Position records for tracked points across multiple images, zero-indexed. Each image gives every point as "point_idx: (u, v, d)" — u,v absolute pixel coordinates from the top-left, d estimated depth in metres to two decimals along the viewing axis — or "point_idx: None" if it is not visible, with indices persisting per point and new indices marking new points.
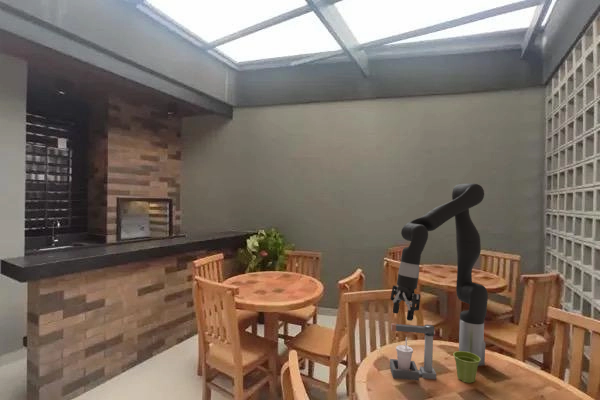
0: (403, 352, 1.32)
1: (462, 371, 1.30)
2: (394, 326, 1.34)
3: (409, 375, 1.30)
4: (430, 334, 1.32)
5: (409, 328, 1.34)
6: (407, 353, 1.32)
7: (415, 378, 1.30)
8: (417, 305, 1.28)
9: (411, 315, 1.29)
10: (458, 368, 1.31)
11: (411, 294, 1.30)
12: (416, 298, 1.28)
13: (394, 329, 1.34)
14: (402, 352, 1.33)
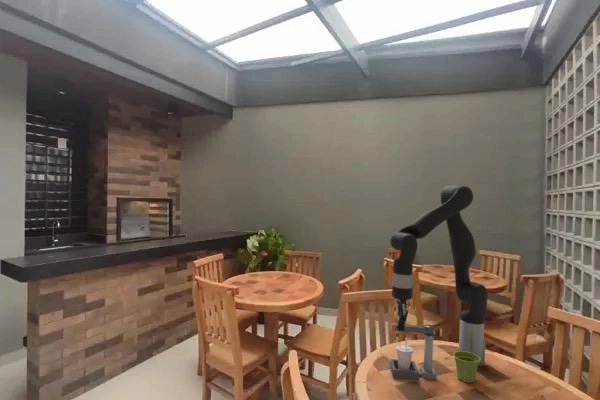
0: (403, 352, 1.32)
1: (462, 371, 1.30)
2: (394, 326, 1.35)
3: (409, 375, 1.30)
4: (430, 334, 1.32)
5: (409, 328, 1.34)
6: (407, 353, 1.32)
7: (415, 378, 1.30)
8: (405, 317, 1.30)
9: (401, 326, 1.32)
10: (458, 368, 1.31)
11: (401, 310, 1.29)
12: (402, 314, 1.28)
13: (394, 329, 1.35)
14: (402, 352, 1.33)
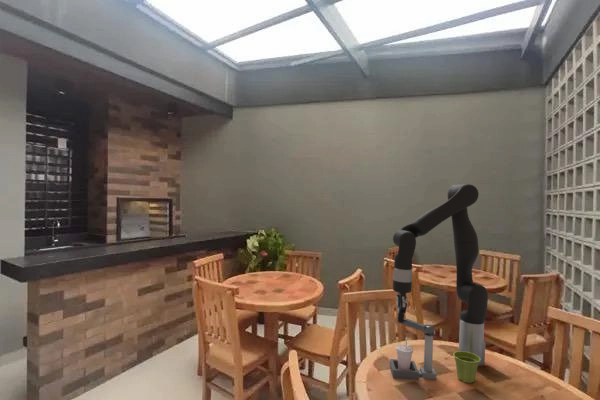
0: (403, 352, 1.32)
1: (462, 371, 1.30)
2: None
3: (409, 375, 1.30)
4: (426, 333, 1.33)
5: (410, 323, 1.39)
6: (407, 353, 1.32)
7: (415, 378, 1.30)
8: (404, 310, 1.38)
9: (400, 317, 1.40)
10: (458, 368, 1.31)
11: (401, 303, 1.38)
12: (402, 306, 1.36)
13: None
14: (402, 352, 1.33)
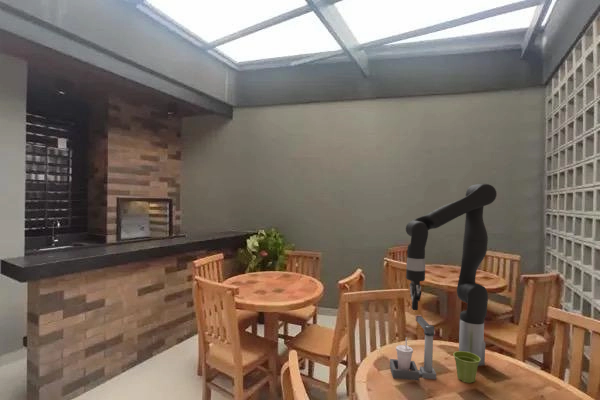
0: (403, 352, 1.32)
1: (462, 371, 1.30)
2: (415, 316, 1.47)
3: (409, 375, 1.30)
4: (424, 332, 1.34)
5: (420, 322, 1.42)
6: (407, 353, 1.32)
7: (415, 378, 1.30)
8: (418, 297, 1.43)
9: (414, 305, 1.45)
10: (458, 368, 1.31)
11: (415, 291, 1.42)
12: (416, 294, 1.41)
13: (415, 319, 1.47)
14: (402, 352, 1.33)
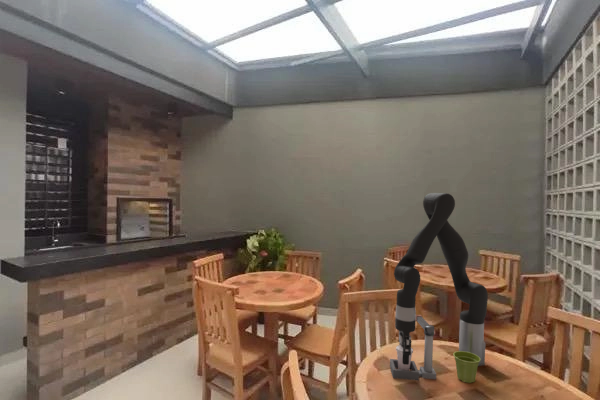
0: None
1: (462, 371, 1.30)
2: None
3: (409, 375, 1.30)
4: (424, 332, 1.34)
5: (420, 322, 1.42)
6: None
7: (415, 378, 1.30)
8: (409, 350, 1.29)
9: (405, 359, 1.31)
10: (458, 368, 1.31)
11: (404, 339, 1.31)
12: (406, 344, 1.29)
13: None
14: None
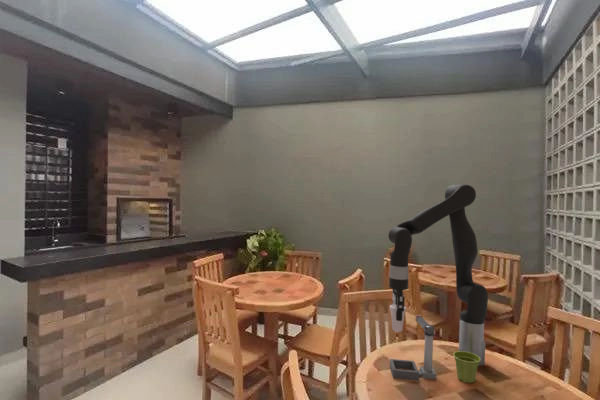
0: None
1: (462, 371, 1.30)
2: (415, 316, 1.47)
3: (409, 375, 1.30)
4: (424, 332, 1.34)
5: (420, 322, 1.42)
6: None
7: (415, 378, 1.30)
8: (402, 306, 1.35)
9: (398, 316, 1.37)
10: (458, 368, 1.31)
11: (398, 296, 1.37)
12: (399, 300, 1.35)
13: (415, 319, 1.47)
14: None
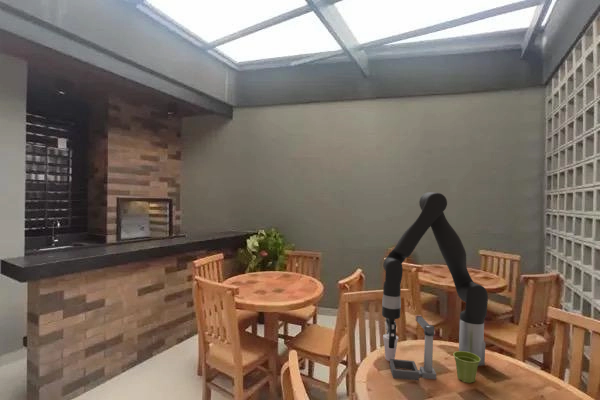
0: None
1: (462, 371, 1.30)
2: (415, 316, 1.47)
3: (409, 375, 1.30)
4: (424, 332, 1.34)
5: (420, 322, 1.42)
6: None
7: (415, 378, 1.30)
8: (394, 334, 1.40)
9: (391, 343, 1.41)
10: (458, 368, 1.31)
11: (390, 324, 1.43)
12: (391, 328, 1.40)
13: (415, 319, 1.47)
14: (388, 339, 1.44)
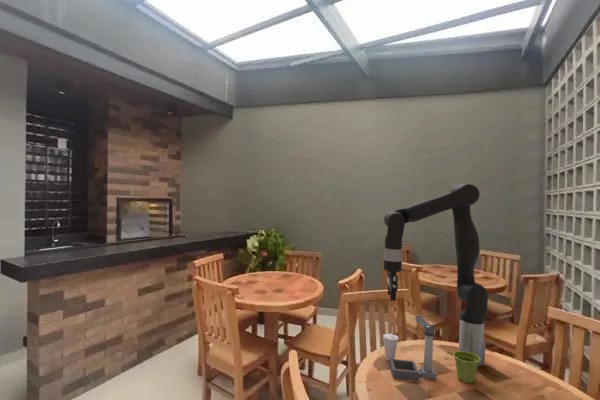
0: (389, 340, 1.44)
1: (462, 371, 1.30)
2: (415, 316, 1.47)
3: (409, 375, 1.30)
4: (424, 332, 1.34)
5: (420, 322, 1.42)
6: (393, 341, 1.44)
7: (415, 378, 1.30)
8: (396, 286, 1.40)
9: (392, 295, 1.41)
10: (458, 368, 1.31)
11: None
12: (393, 280, 1.40)
13: (415, 319, 1.47)
14: (388, 340, 1.44)
